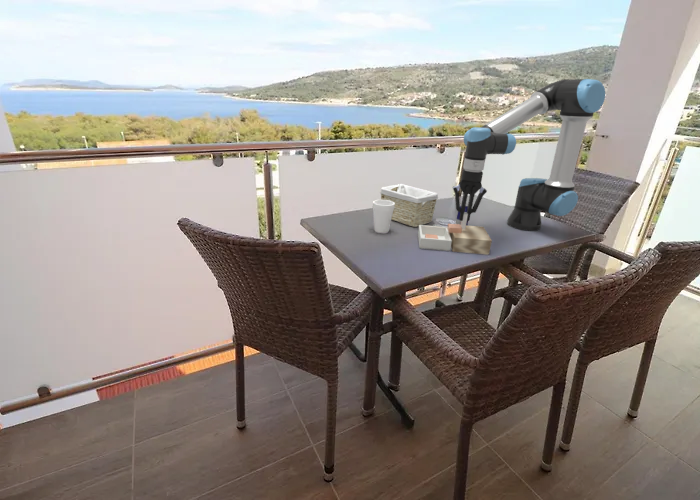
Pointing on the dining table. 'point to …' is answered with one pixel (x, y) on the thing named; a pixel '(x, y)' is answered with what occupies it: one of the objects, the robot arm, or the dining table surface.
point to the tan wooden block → (471, 240)
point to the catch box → (434, 244)
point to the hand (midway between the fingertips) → (462, 228)
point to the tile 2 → (454, 228)
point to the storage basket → (410, 204)
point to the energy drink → (459, 215)
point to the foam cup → (382, 215)
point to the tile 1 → (431, 236)
